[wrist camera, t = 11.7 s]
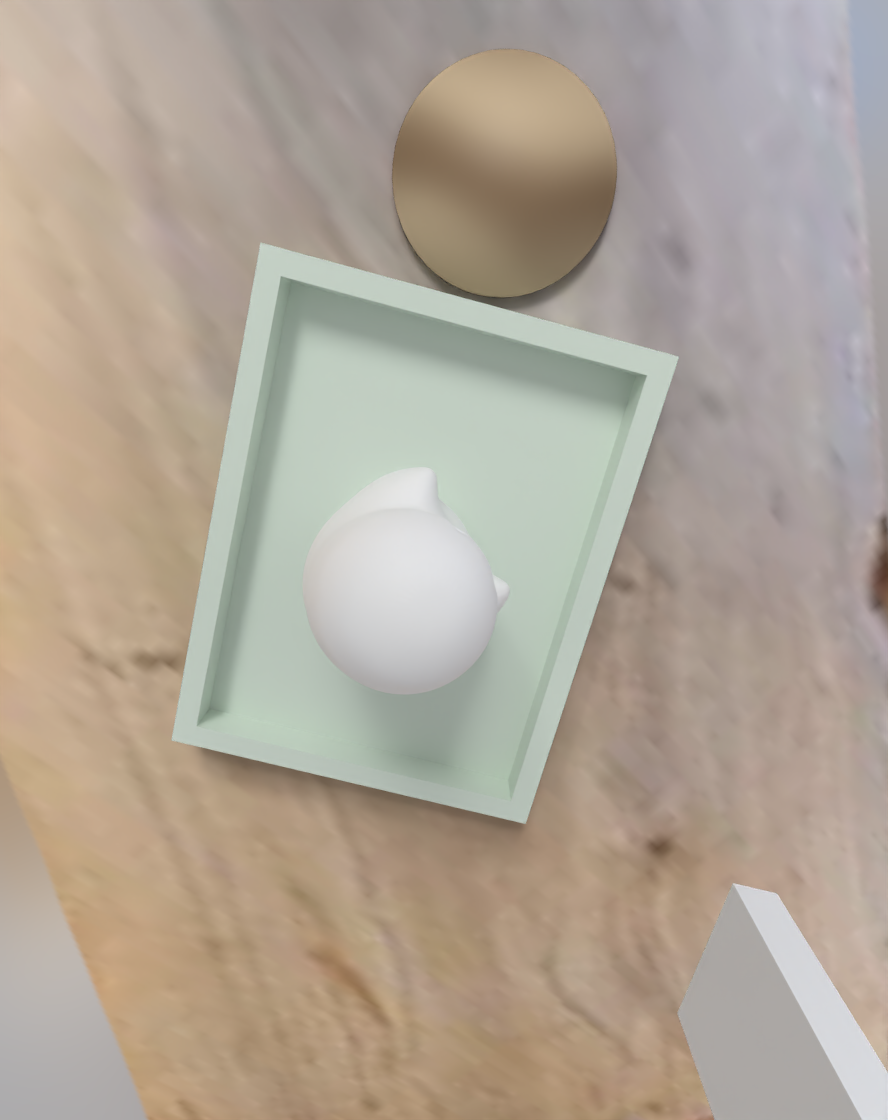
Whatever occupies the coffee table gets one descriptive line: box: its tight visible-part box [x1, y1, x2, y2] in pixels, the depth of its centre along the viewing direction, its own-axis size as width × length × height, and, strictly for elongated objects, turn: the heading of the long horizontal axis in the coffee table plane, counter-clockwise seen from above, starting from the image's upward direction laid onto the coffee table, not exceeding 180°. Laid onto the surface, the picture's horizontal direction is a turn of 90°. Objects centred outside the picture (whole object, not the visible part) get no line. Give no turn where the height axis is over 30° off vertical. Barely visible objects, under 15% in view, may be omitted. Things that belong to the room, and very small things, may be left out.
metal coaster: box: [392, 49, 617, 298], centre depth 29 cm, size 9×9×1 cm
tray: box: [172, 243, 679, 824], centre depth 32 cm, size 22×17×2 cm
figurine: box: [303, 467, 510, 694], centre depth 27 cm, size 7×8×12 cm
